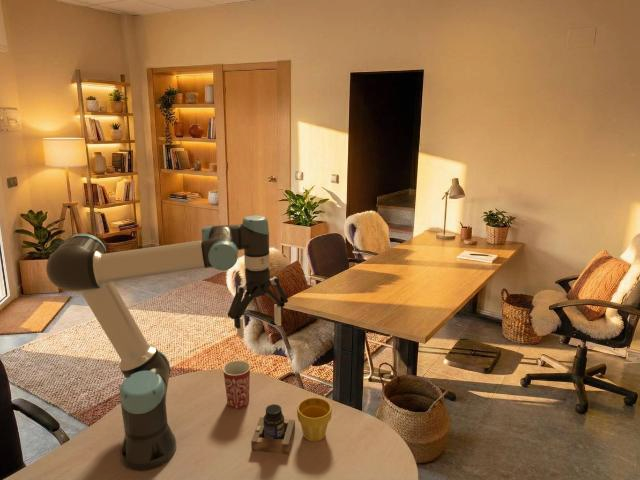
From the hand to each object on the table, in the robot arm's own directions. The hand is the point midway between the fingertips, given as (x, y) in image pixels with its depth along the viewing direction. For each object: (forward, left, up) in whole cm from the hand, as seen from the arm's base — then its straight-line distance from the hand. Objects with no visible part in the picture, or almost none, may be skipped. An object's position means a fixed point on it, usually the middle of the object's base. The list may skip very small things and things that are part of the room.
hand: (259, 330), depth 154 cm
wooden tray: (+7, -14, -29) cm, 33 cm away
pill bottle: (+7, -15, -29) cm, 33 cm away
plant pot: (+19, -11, -29) cm, 36 cm away
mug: (-9, +4, -29) cm, 31 cm away
